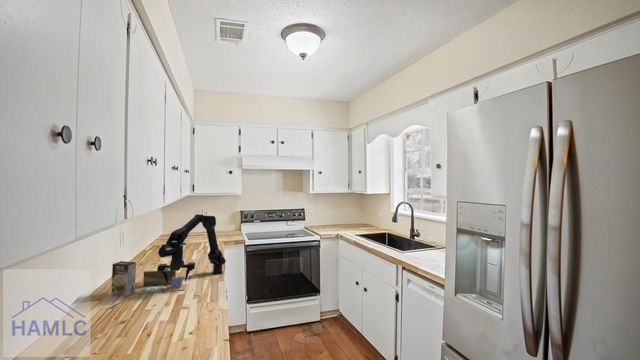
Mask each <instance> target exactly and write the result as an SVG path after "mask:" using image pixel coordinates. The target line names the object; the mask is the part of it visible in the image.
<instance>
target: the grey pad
mask: <svg viewBox="0 0 640 360" xmlns="http://www.w3.org/2000/svg"><path fill="white" fill-rule="evenodd" d="M164 287H165V285H162V286H146V287H142V289H141V290H140V291H139V294H140V295H141V294H155V293H162V291H163V289H164Z"/></svg>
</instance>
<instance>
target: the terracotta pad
mask: <svg viewBox="0 0 640 360" xmlns="http://www.w3.org/2000/svg"><path fill="white" fill-rule="evenodd" d="M166 286H167V287H166V288H165V289H164V292H165V293H169V292H181V291H182V292H183V291H184V292H185V290H186V289H187V286H188V284H187V283H184V284H183V283H182V286H181V288H177V289H171V285H166Z"/></svg>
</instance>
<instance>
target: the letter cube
mask: <svg viewBox="0 0 640 360" xmlns="http://www.w3.org/2000/svg"><path fill="white" fill-rule="evenodd" d="M182 284H183V276H176V277H172V279H171V289H177V288H181V286H182Z"/></svg>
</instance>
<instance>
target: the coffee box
mask: <svg viewBox="0 0 640 360" xmlns="http://www.w3.org/2000/svg"><path fill="white" fill-rule="evenodd" d="M136 267H137V262H136V261H123V260H120V261H117V262H115V263H112V270H111V271H112V272H111V290H110V295H111V296H118V295H119V296H122V297H128V296H129V295H132V294H133V293H135V291H136V289H135V288H136V276H137V275H136V271H137V268H136Z"/></svg>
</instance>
